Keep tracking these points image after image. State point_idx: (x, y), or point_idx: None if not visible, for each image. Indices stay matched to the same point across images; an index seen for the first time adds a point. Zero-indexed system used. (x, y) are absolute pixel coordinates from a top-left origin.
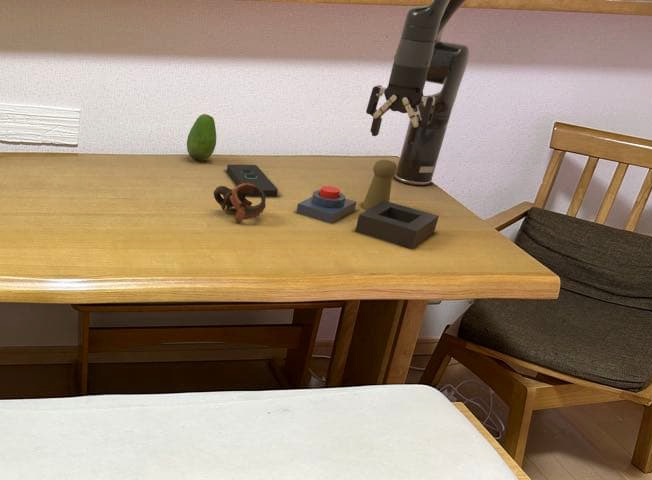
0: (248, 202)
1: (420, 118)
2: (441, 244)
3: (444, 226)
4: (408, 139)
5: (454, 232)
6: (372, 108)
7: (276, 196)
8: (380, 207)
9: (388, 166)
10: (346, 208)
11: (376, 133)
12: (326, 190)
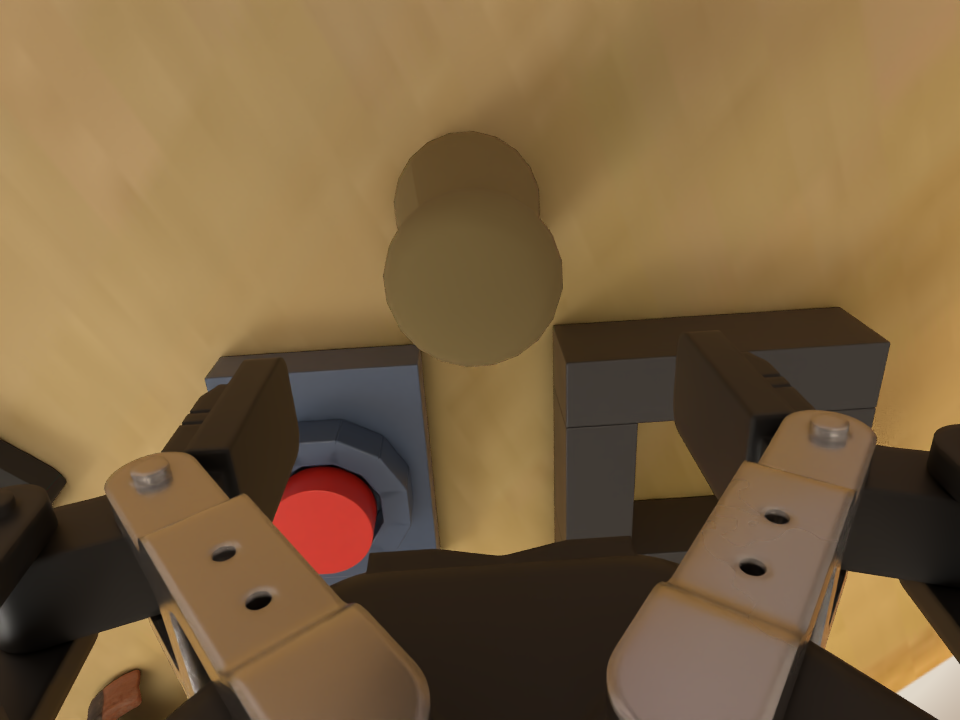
0: (129, 707)
1: (861, 493)
2: (896, 404)
3: (869, 168)
4: (689, 448)
5: (930, 211)
6: (69, 674)
7: (63, 479)
8: (601, 470)
9: (523, 348)
10: (428, 462)
11: (289, 418)
12: (321, 565)
